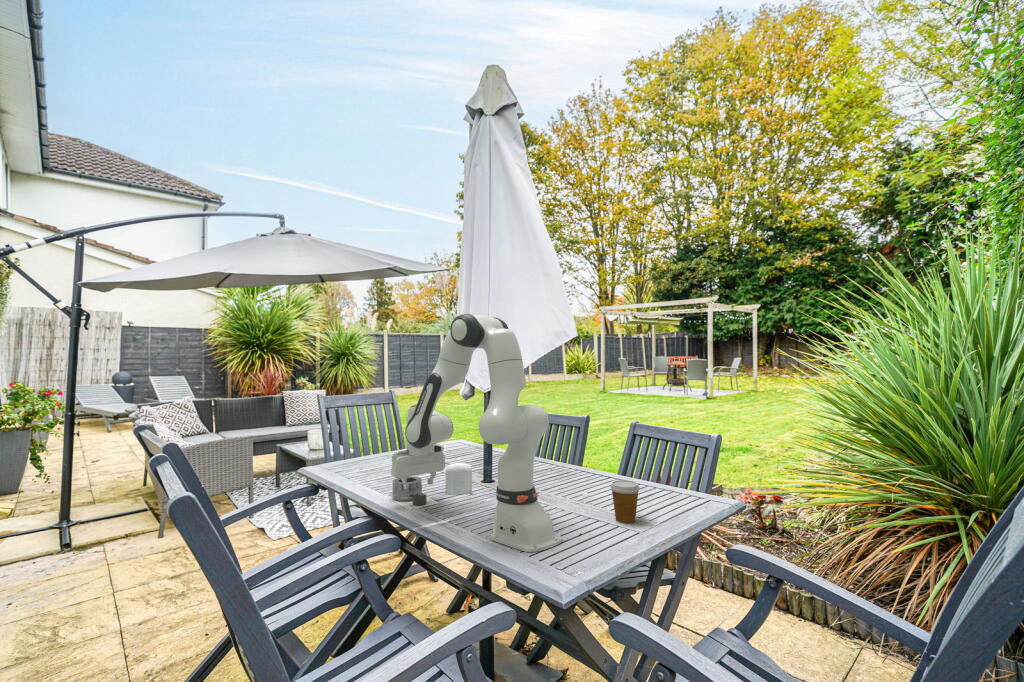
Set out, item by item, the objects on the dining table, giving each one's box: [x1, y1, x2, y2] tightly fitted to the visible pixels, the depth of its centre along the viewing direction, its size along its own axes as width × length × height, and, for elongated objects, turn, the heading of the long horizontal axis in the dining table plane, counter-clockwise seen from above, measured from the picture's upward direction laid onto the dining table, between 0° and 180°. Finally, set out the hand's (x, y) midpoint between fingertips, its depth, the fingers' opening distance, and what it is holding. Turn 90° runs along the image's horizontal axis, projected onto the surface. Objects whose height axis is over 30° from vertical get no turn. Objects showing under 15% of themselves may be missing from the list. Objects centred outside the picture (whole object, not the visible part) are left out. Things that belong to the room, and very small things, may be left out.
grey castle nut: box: [391, 476, 423, 502], centre depth 184 cm, size 11×11×6 cm
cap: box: [412, 493, 427, 506], centre depth 176 cm, size 5×5×4 cm
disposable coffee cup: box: [609, 479, 641, 524], centre depth 160 cm, size 10×10×12 cm
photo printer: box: [445, 462, 473, 496], centre depth 190 cm, size 10×4×12 cm, turn 98°
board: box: [386, 495, 439, 511], centre depth 181 cm, size 19×12×1 cm, turn 38°
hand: (418, 486), depth 176 cm, fingers open, 8 cm apart
